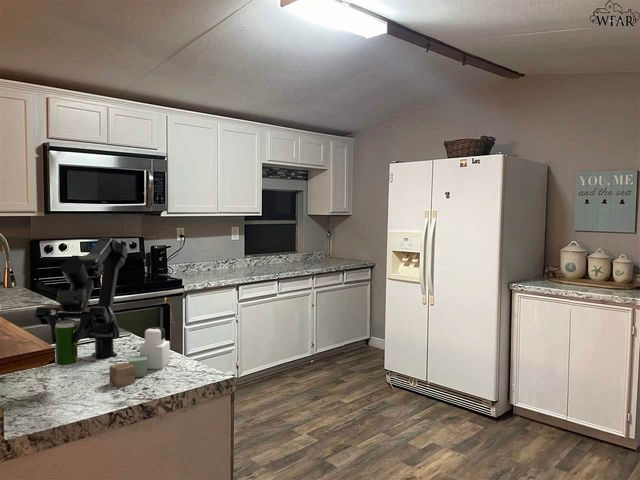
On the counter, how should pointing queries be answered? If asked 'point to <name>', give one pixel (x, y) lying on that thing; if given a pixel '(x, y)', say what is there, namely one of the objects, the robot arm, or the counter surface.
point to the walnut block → (122, 374)
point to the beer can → (66, 343)
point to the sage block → (139, 365)
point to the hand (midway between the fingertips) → (64, 342)
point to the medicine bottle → (156, 348)
